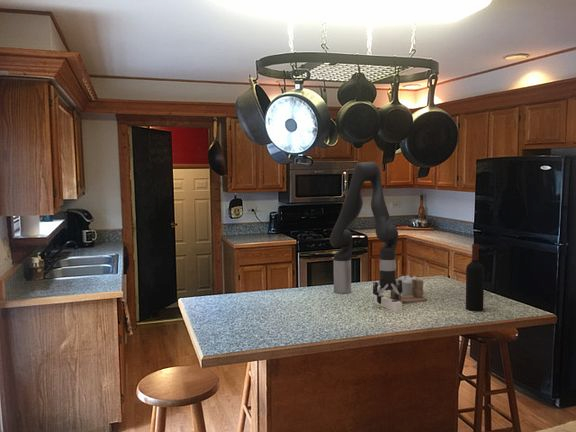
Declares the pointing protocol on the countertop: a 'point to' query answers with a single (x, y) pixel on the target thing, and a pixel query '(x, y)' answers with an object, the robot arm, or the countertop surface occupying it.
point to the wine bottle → (474, 282)
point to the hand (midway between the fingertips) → (387, 302)
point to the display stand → (416, 293)
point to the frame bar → (389, 303)
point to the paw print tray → (406, 284)
